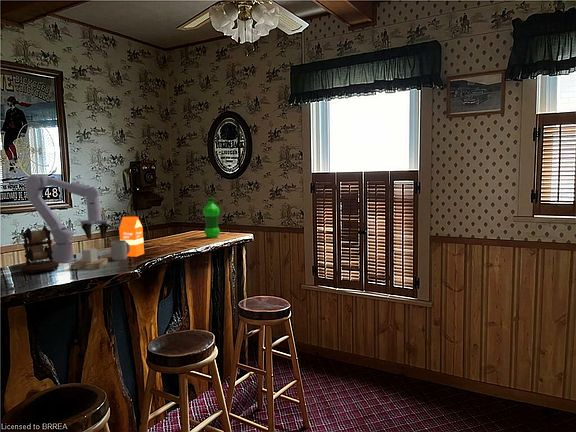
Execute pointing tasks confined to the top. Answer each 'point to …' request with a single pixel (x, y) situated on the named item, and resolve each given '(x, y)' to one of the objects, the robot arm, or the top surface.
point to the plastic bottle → (211, 219)
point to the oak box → (90, 264)
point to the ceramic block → (89, 255)
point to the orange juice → (132, 235)
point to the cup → (119, 250)
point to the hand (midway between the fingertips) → (96, 238)
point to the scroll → (38, 251)
